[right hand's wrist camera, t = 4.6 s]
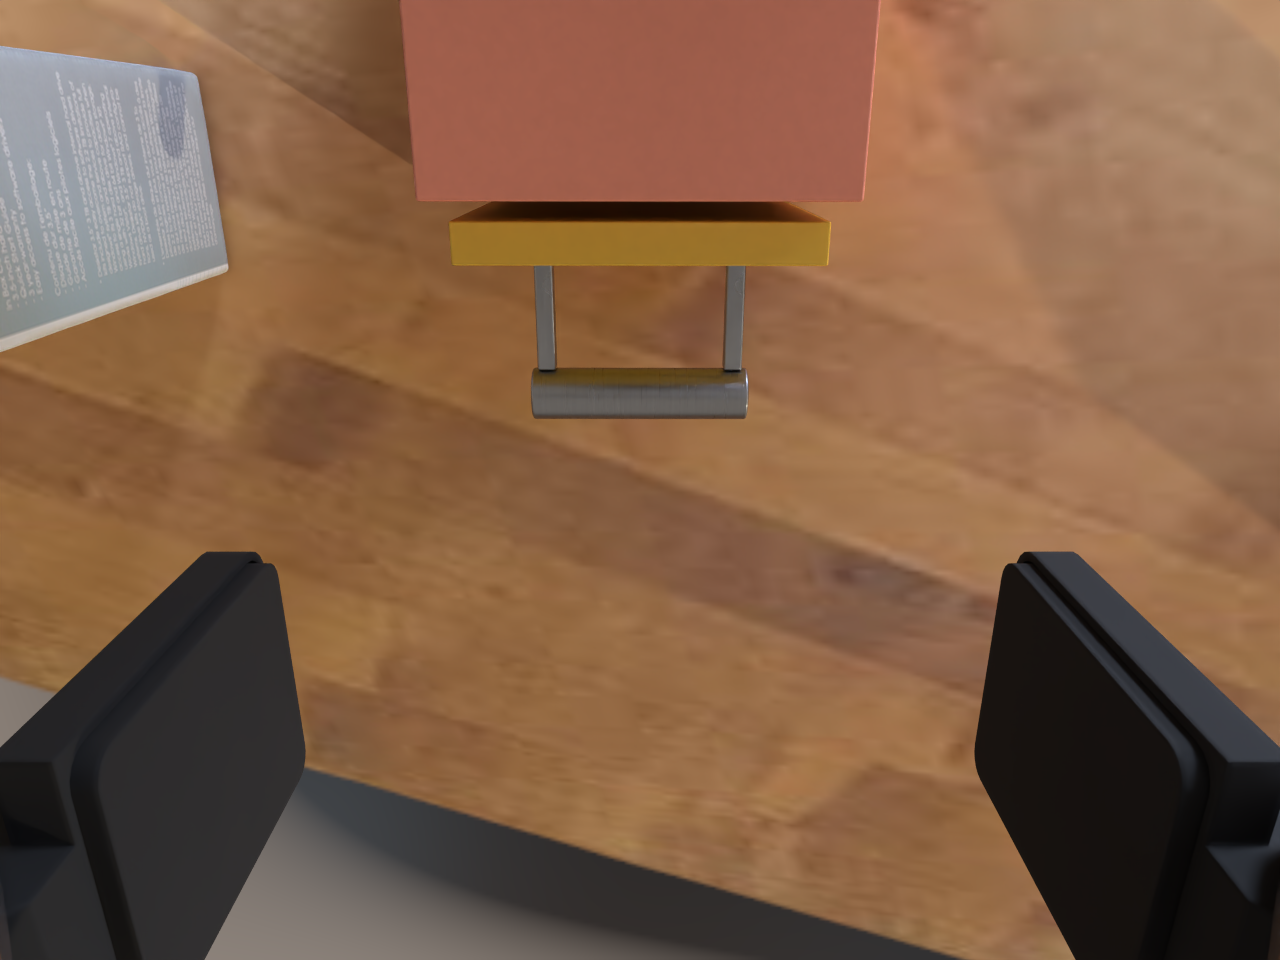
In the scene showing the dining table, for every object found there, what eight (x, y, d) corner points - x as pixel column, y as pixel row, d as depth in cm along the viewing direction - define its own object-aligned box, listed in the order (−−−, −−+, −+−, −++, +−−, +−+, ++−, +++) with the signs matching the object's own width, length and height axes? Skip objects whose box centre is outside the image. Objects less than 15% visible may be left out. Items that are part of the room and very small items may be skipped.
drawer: (769, 374, 37) (813, 457, 27) (510, 373, 37) (465, 456, 27) (803, -263, 29) (881, -452, 20) (477, -263, 29) (399, -452, 20)
